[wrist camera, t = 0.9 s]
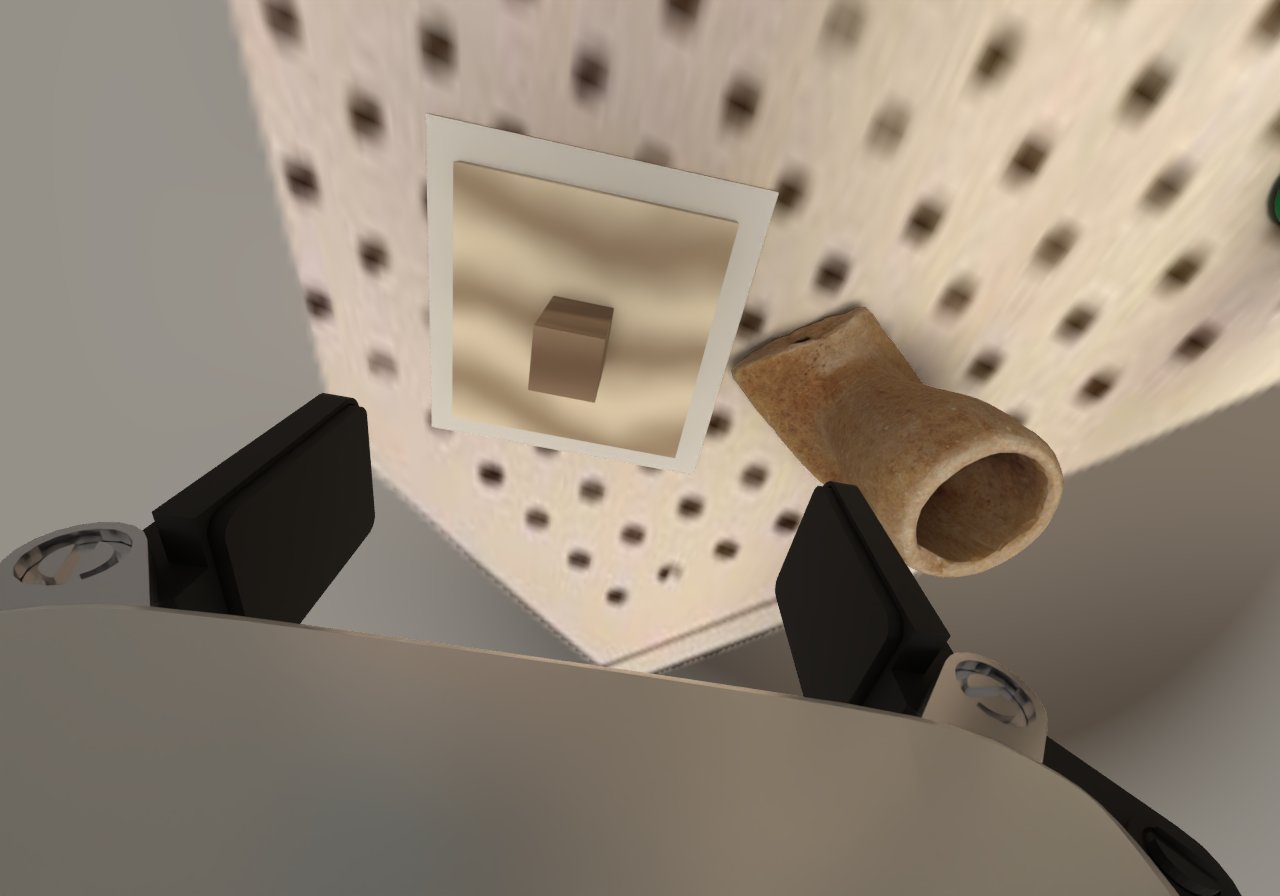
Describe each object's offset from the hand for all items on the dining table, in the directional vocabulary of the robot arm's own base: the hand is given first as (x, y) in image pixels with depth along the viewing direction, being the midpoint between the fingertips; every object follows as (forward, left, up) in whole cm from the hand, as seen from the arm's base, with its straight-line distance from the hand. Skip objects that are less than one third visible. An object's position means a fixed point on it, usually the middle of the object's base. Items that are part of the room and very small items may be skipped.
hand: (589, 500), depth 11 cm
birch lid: (+6, -3, -26) cm, 27 cm away
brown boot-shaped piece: (+7, +17, -27) cm, 33 cm away
